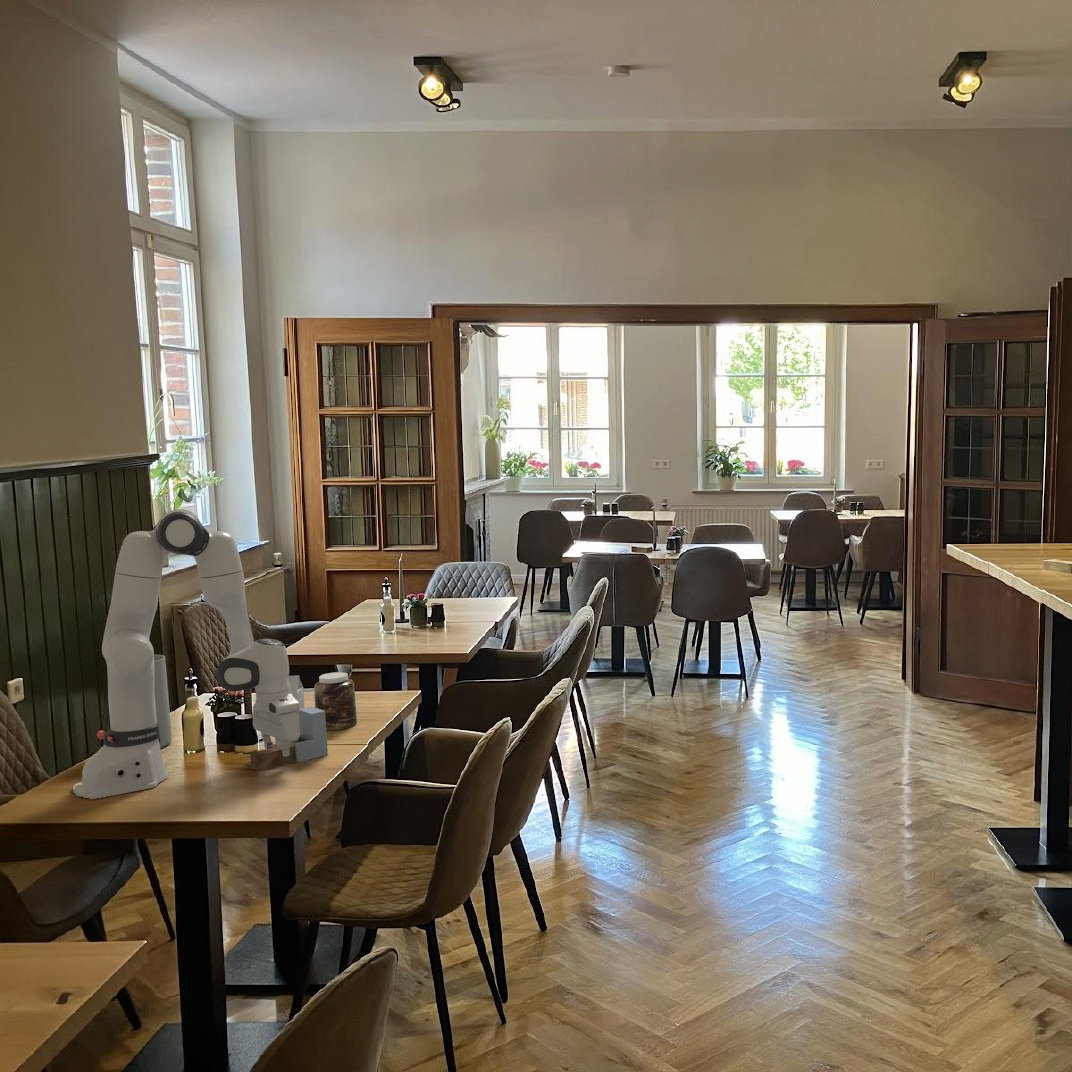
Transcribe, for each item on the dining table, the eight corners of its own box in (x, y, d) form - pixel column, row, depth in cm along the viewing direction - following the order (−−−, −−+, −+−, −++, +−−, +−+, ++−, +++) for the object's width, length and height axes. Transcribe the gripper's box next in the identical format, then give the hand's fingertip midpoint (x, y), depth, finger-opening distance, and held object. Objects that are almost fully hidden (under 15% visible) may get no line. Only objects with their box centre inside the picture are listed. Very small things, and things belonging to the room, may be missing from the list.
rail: (257, 770, 276) (256, 752, 275) (251, 768, 278) (249, 749, 278) (308, 757, 285) (306, 739, 285) (301, 755, 288) (300, 736, 287)
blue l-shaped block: (297, 762, 281) (294, 718, 280) (284, 757, 287) (281, 713, 285) (327, 754, 287) (324, 711, 286) (314, 749, 292) (311, 706, 291)
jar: (322, 720, 323) (318, 671, 321) (360, 719, 322) (357, 670, 321) (312, 731, 311) (308, 680, 309) (352, 730, 310) (348, 679, 309)
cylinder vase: (123, 744, 307) (115, 658, 305) (168, 736, 313) (161, 652, 310) (128, 754, 296) (120, 666, 294) (175, 746, 302) (168, 659, 299)
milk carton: (300, 745, 297) (296, 678, 295) (275, 746, 297) (270, 679, 295) (306, 738, 304) (302, 672, 302) (282, 739, 304) (277, 673, 302)
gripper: (245, 696, 286) (248, 746, 287) (280, 709, 270) (283, 762, 271) (266, 692, 290) (270, 741, 291) (302, 704, 274) (306, 757, 275)
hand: (276, 752), depth 281 cm, fingers open, 8 cm apart
